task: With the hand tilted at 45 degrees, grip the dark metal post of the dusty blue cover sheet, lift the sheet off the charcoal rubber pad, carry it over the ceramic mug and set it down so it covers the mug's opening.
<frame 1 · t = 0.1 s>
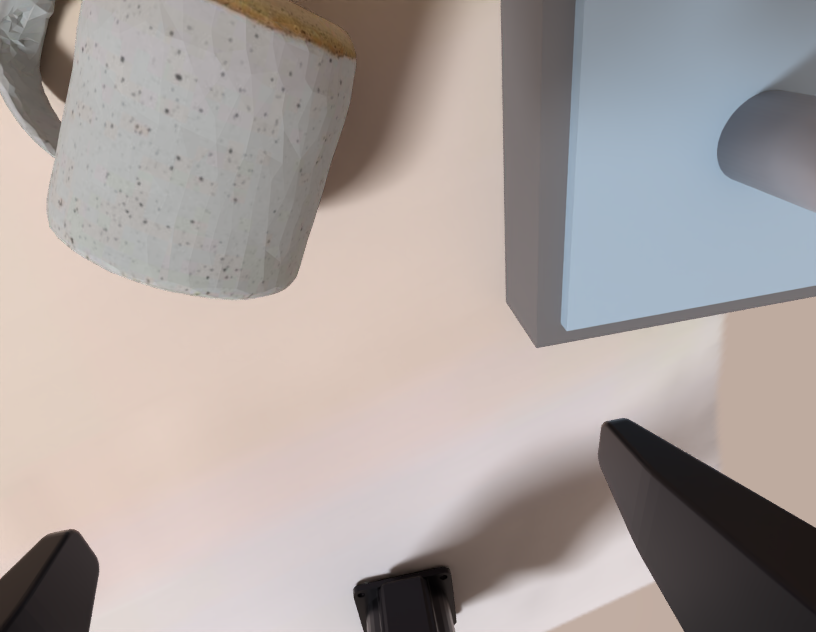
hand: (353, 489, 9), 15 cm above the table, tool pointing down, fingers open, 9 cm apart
cover sheet: (746, 134, 18), point 4 cm above the table, touching rubber pad
rubber pad: (678, 114, 22), on the table
ceramic mug: (190, 102, 19), on the table
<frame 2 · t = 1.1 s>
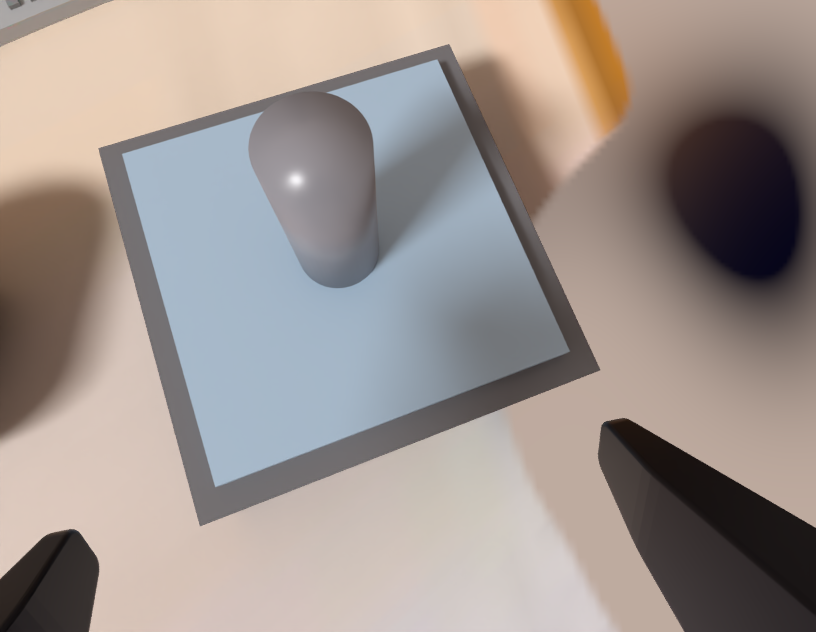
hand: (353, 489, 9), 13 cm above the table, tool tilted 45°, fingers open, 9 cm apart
cover sheet: (340, 255, 20), point 4 cm above the table, touching rubber pad
rubber pad: (348, 286, 24), on the table
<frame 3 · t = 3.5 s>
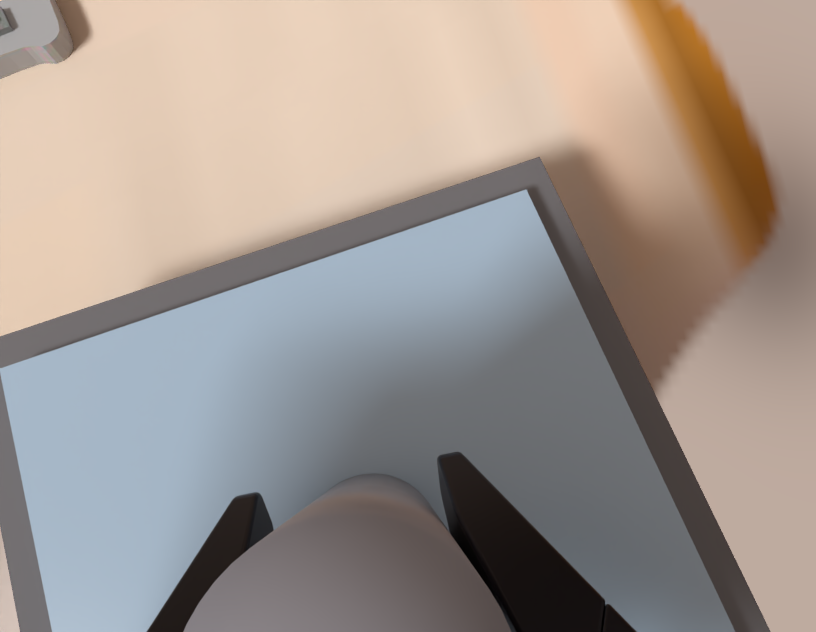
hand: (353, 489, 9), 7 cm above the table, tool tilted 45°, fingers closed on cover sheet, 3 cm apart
cover sheet: (373, 542, 12), point 4 cm above the table, touching gripper, rubber pad
rubber pad: (377, 517, 15), on the table
when the fingers open (12 cm above the table, at t = 7.1 s): cover sheet drops 2 cm, resting on ceramic mug.
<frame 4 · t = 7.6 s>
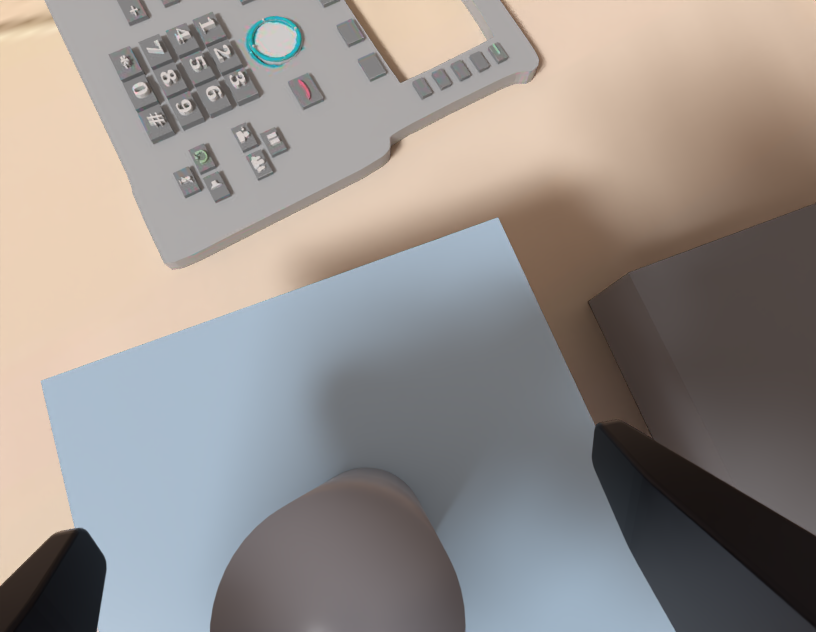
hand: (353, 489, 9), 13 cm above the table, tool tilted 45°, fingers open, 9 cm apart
cover sheet: (366, 527, 13), point 8 cm above the table, touching ceramic mug
office telephone: (270, 6, 27), on the table
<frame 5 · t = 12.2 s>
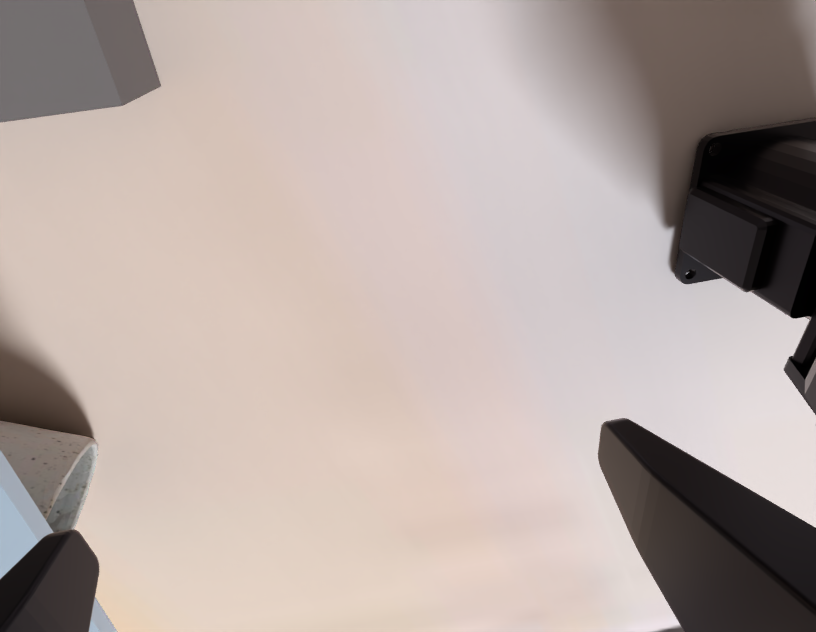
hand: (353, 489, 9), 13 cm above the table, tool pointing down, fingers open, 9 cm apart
ceramic mug: (4, 464, 24), on the table, touching cover sheet
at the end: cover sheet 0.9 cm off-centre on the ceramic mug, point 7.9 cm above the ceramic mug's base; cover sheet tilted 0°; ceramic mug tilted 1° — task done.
